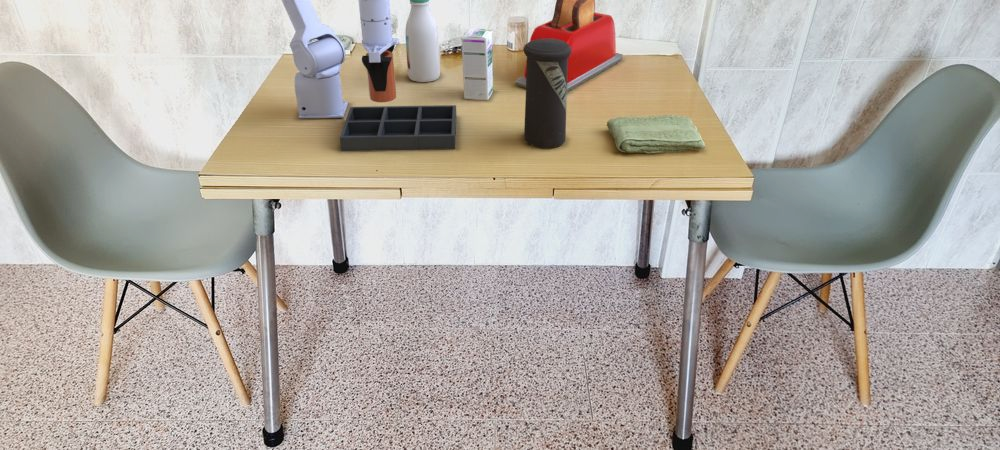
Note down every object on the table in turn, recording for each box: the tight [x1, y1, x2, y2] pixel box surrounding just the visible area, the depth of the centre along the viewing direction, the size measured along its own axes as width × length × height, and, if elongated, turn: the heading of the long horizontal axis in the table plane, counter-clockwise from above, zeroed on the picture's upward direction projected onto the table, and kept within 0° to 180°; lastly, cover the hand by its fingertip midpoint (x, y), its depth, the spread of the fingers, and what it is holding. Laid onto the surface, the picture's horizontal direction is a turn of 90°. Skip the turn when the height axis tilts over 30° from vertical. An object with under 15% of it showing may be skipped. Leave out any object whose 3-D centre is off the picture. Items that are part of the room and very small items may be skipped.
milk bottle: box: [404, 0, 441, 83], centre depth 170 cm, size 8×8×20 cm
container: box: [522, 39, 572, 149], centre depth 141 cm, size 9×9×20 cm
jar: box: [365, 50, 397, 103], centre depth 144 cm, size 5×5×9 cm
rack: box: [338, 104, 457, 152], centre depth 148 cm, size 22×15×3 cm
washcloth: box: [606, 114, 706, 155], centre depth 145 cm, size 13×18×3 cm
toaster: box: [515, 0, 624, 93], centre depth 173 cm, size 32×13×19 cm, turn 144°
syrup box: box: [461, 28, 494, 101], centre depth 162 cm, size 6×6×14 cm
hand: (381, 85), depth 145 cm, fingers closed on jar, 5 cm apart
